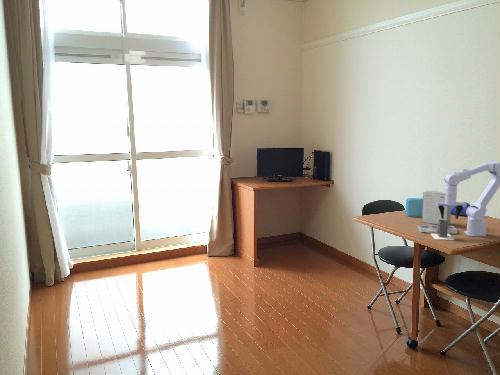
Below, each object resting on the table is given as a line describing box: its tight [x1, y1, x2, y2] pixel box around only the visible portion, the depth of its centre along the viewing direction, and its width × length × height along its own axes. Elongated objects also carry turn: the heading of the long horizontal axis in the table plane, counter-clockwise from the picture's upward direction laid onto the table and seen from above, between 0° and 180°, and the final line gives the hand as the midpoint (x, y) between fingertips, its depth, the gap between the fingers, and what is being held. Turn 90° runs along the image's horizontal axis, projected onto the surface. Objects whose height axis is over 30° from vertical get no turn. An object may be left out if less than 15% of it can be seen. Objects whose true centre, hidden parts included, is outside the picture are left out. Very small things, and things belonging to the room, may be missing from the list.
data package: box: [405, 197, 423, 218], centre depth 280 cm, size 12×4×12 cm, turn 90°
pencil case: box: [451, 201, 472, 217], centre depth 284 cm, size 22×9×10 cm, turn 42°
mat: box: [430, 233, 455, 241], centre depth 233 cm, size 10×10×1 cm
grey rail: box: [417, 224, 458, 235], centre depth 245 cm, size 20×8×3 cm, turn 80°
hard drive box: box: [421, 190, 452, 225], centre depth 261 cm, size 16×8×20 cm, turn 47°
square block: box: [437, 220, 449, 237], centre depth 233 cm, size 4×4×9 cm
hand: (449, 218), depth 236 cm, fingers open, 7 cm apart
